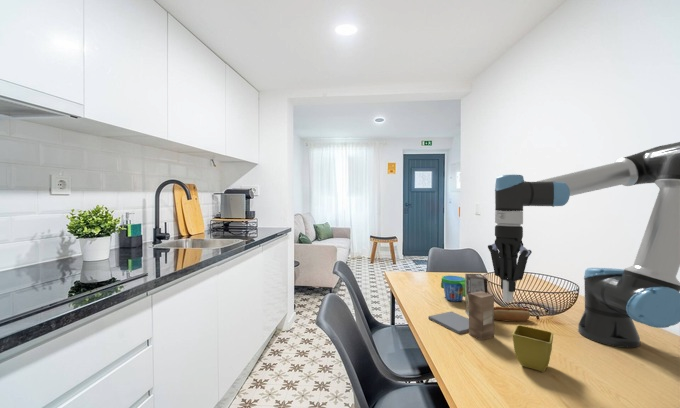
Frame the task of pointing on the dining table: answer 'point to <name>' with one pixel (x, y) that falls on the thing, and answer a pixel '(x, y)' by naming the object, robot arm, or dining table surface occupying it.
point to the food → (511, 313)
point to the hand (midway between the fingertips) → (507, 301)
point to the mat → (452, 321)
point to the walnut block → (481, 315)
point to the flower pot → (532, 347)
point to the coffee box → (474, 287)
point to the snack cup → (453, 287)
